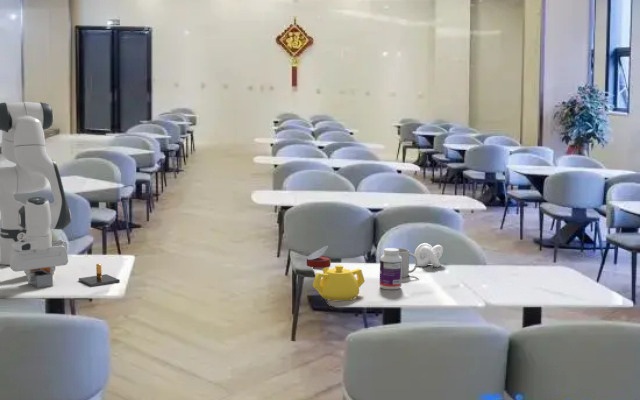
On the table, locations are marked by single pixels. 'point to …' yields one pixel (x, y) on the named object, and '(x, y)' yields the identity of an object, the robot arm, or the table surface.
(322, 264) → the canned food
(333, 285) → the teapot
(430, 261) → the white twisted knot
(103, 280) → the keeper
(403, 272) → the mug
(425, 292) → the table surface
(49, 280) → the gray open box
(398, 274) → the pill bottle
